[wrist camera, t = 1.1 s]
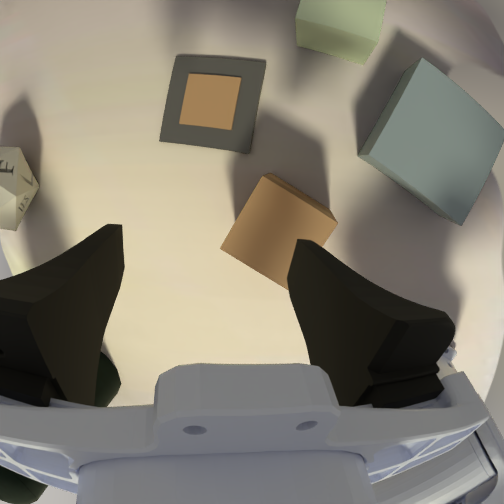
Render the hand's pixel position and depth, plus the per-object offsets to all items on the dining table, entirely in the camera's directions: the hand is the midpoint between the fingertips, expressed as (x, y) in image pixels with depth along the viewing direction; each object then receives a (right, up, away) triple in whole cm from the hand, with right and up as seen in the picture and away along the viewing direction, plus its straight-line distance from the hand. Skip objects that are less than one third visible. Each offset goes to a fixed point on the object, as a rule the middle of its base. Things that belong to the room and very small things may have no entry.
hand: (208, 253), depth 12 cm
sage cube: (+8, +17, +5) cm, 19 cm away
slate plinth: (+15, +8, +7) cm, 18 cm away
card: (-1, +11, +8) cm, 14 cm away
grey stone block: (-22, +7, +13) cm, 27 cm away
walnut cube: (+4, +2, +10) cm, 11 cm away
